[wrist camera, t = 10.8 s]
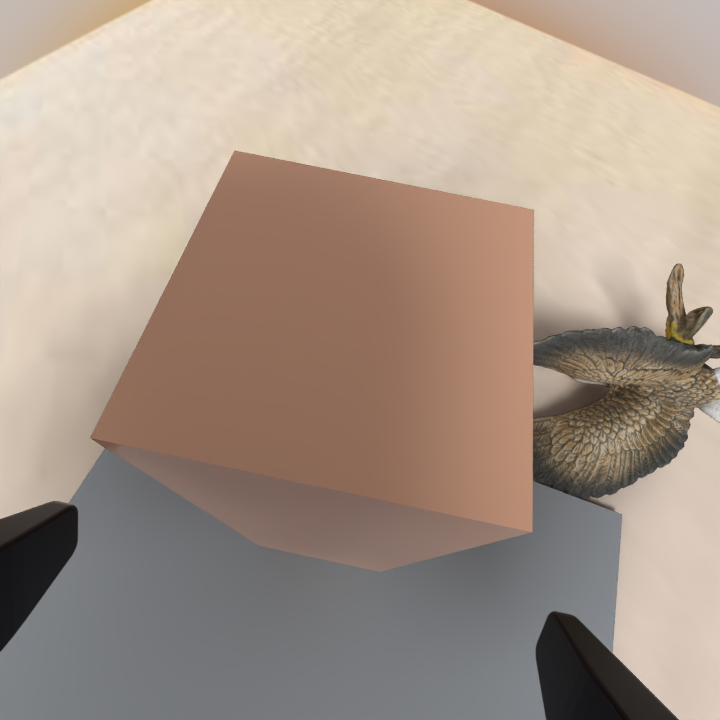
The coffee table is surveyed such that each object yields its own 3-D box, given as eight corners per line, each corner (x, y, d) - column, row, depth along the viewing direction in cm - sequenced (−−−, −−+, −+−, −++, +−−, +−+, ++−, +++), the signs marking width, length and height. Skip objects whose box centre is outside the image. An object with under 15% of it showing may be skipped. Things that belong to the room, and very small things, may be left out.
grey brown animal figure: (589, 280, 22) (464, 340, 18) (776, 243, 16) (652, 323, 12) (624, 418, 23) (515, 505, 19) (811, 435, 17) (710, 570, 13)
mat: (565, 1172, 10) (574, 1192, 10) (-126, 808, 12) (-140, 815, 12) (616, 515, 18) (622, 514, 17) (176, 350, 20) (173, 346, 19)
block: (379, 571, 16) (532, 532, 4) (258, 545, 16) (90, 438, 4) (397, 451, 18) (533, 209, 6) (290, 429, 18) (234, 150, 6)
